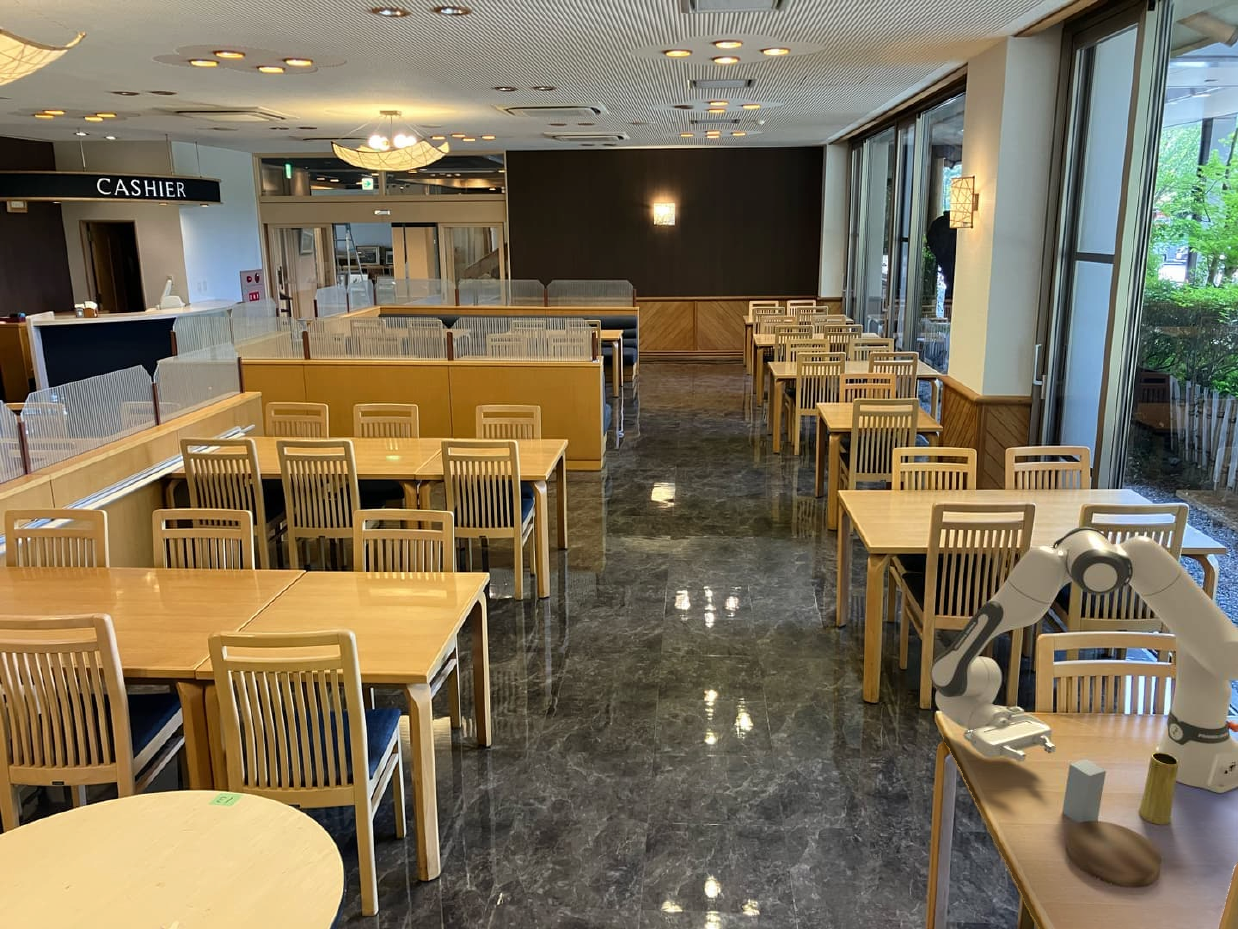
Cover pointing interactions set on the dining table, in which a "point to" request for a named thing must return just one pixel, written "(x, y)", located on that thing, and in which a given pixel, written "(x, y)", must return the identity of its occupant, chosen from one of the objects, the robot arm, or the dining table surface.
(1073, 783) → the gray block
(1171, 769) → the vase
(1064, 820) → the dining table surface
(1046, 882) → the dining table surface
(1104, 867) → the walnut base
